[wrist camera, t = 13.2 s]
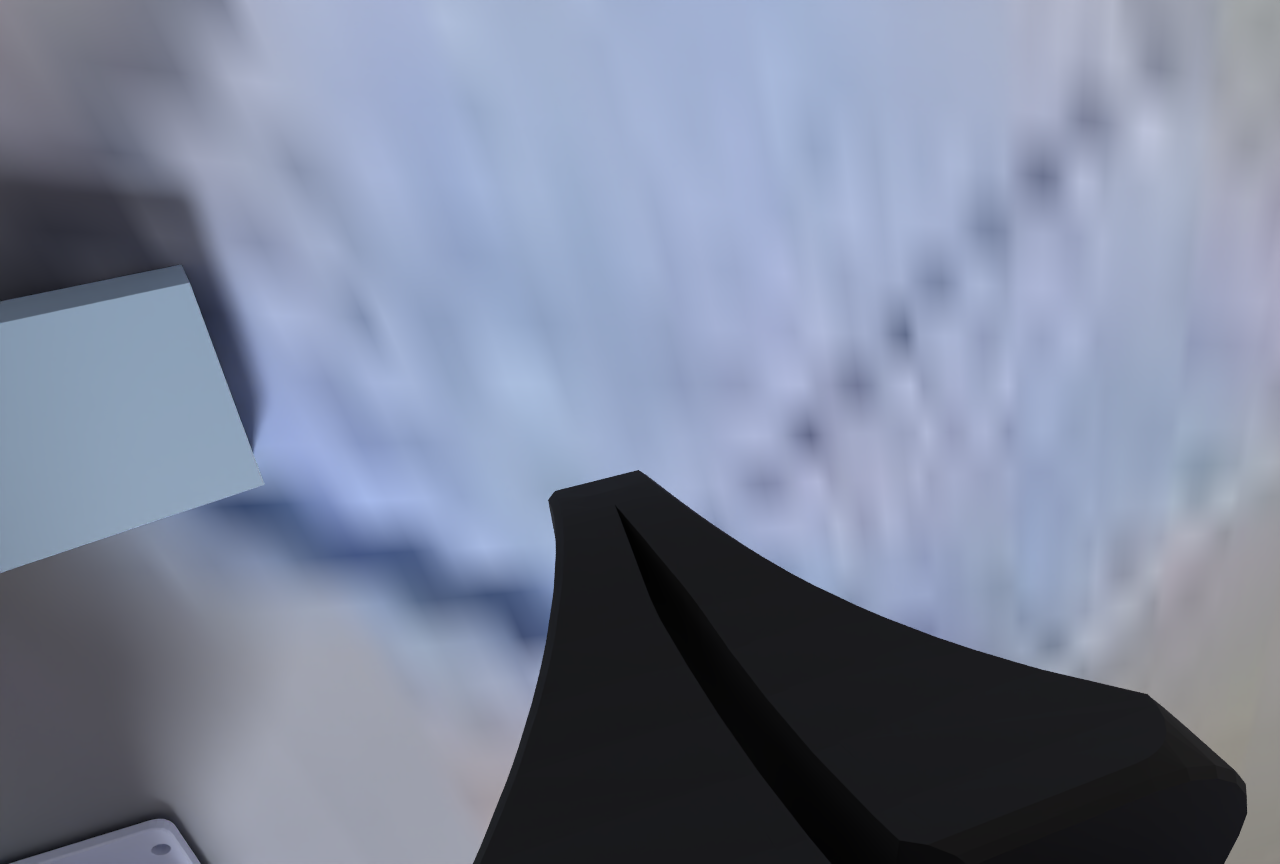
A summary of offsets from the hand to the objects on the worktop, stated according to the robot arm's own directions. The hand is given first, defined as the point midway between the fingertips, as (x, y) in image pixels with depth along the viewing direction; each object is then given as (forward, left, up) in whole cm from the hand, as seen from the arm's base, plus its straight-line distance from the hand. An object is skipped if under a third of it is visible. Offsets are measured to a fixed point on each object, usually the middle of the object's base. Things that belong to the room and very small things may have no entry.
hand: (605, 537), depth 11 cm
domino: (0, +7, -9) cm, 11 cm away
